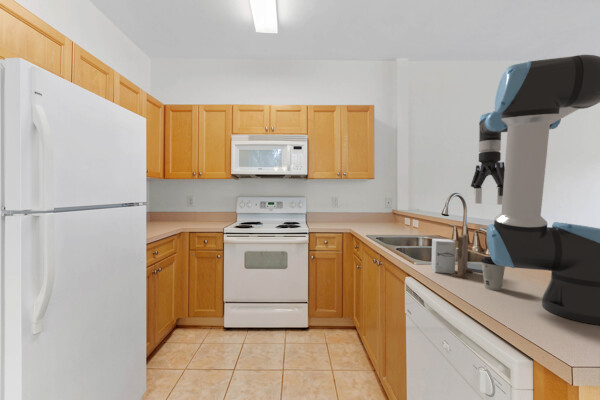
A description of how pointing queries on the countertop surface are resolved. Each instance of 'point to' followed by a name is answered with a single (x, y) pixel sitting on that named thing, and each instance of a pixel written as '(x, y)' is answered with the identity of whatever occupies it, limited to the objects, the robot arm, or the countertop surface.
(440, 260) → the supplement box
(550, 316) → the countertop surface
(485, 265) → the coffee cup
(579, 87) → the robot arm
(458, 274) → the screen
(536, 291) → the countertop surface
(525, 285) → the countertop surface
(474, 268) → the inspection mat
